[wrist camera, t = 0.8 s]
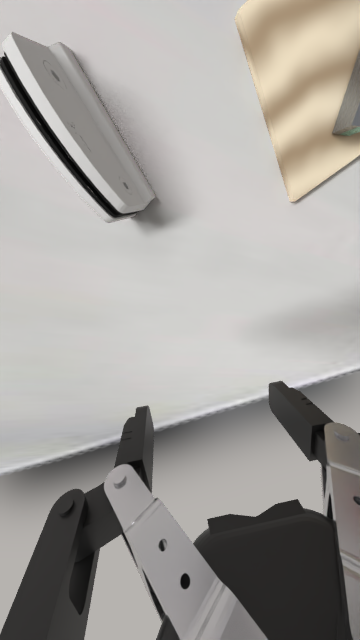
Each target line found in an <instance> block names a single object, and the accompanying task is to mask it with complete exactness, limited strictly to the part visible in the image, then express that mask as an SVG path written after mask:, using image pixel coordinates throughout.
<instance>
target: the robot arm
mask: <svg viewBox="0 0 360 640" xmlns="http://www.w3.org/2000/svg"><path fill="white" fill-rule="evenodd" d="M269 405H270V408H271V411H272V412H273V414H274V415H275V416H276V417H277V419H278V420H279V422H280V423H281V424H282V425H283V427H284V428H285V429H286V431H287V432H288V433H289V435H290V436H291V437H292V439H293V440H294V441H295V443H296V444H297V445H298V447H299V448H300V449H301V451H302V452H303V453H304V454H305V456H306V457H307V459H308V460H309V461H313V460H318V461H319V462H320V463H321V480H322V496H323V514H321V513H318V512H315V511H313V510H309V509H304V508H303V507H302V506H301V504H300V503H299V501H298V499H296V500H292V501H287V502H283V503H278V504H275V505H274V506H272V507H271V508H269V509H268V510H266V511H265V512H263V513H262V514H260V515H259V516H256V517H251V516H242V515H233V514H228V515H224V516H219V517H215V518H210V519H207V520H208V526H209V528H208V529H207V530H205V531H204V532H203V533H202V534H201V535H200V536H199V537H198V538H197V539H196V540H195V542H194V543H192V542H191V541H190V539H189V538H188V537H187V535H186V534H185V532H184V531H183V530H182V528H181V527H180V526H179V524H178V523H177V522H176V520H175V519H174V518H173V516H172V515H171V514H170V512H169V511H168V510H167V508H166V507H165V505H164V504H163V503H162V501H161V500H160V499H158V498H156V499H155V498H154V497H153V495H152V470H153V447H154V427H153V422H152V418H151V413H150V409H149V406H143V407H137V408H136V413H135V417H131V418H129V419H128V420H127V422H126V423H125V425H124V428H123V432H122V436H121V441H120V445H119V449H118V454H117V458H116V462H115V466H114V469H113V470H112V471H111V472H110V473H109V474H108V476H107V478H106V480H105V482H104V483H102V484H101V485H99V486H98V487H96V488H94V489H92V490H90V491H89V492H87V493H85V494H84V493H83V492H82V490H80V489H73V490H70V491H68V492H67V493H65V494H64V495H62V496H61V497H60V498H59V499H58V500H57V501H56V503H55V504H54V506H53V507H52V509H51V511H50V513H49V515H48V518H47V520H46V523H45V525H44V528H43V530H42V533H41V535H40V538H39V540H38V543H37V545H36V547H35V550H34V552H33V555H32V557H31V560H30V562H29V565H28V567H27V570H26V572H25V575H24V577H23V579H22V582H21V585H20V587H19V589H18V592H17V594H16V597H15V599H14V602H13V604H12V607H11V609H10V612H9V614H8V617H7V619H6V622H5V624H4V626H3V629H2V632H1V634H0V640H84V636H85V631H86V625H87V620H88V614H89V608H90V602H91V597H92V591H93V585H94V579H95V573H96V568H97V562H98V557H99V551H100V548H101V547H102V546H104V545H105V544H106V543H108V542H110V541H111V540H113V539H114V538H116V537H118V536H119V535H122V538H123V540H124V542H125V544H126V546H127V548H128V550H129V552H130V555H131V557H132V559H133V561H134V563H135V565H136V567H137V569H138V572H139V574H140V576H141V578H142V580H143V583H144V585H145V588H146V590H147V592H148V594H149V597H150V599H151V601H152V603H153V605H154V607H155V610H156V612H157V614H158V616H159V618H160V620H161V622H162V625H161V628H160V630H159V633H158V636H157V639H156V640H360V433H357V432H356V431H354V430H353V429H352V428H350V427H348V426H346V425H344V424H340V423H335V422H333V421H332V420H331V419H330V418H329V417H328V416H327V415H326V414H324V413H323V412H322V411H321V410H320V409H319V408H318V407H317V406H315V405H314V404H313V403H312V402H311V401H310V400H309V399H307V397H306V396H304V395H303V394H302V393H301V392H300V391H298V390H296V389H294V388H289V387H288V386H287V385H286V384H285V383H283V382H282V381H279V382H273V383H270V384H269Z"/></svg>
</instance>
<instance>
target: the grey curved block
mask: <svg viewBox="0 0 360 640" xmlns="http://www.w3.org/2000/svg"><path fill="white" fill-rule="evenodd" d="M2 46H3V49H4V55H5V57H2V58H1V57H0V87H1V89H2V91H3V93H4V95H5V96H6V98H7V100H8V101H9V103H10V105H11V106H12V108H13V110H14V111H15V113H16V114H17V116H18V117H19V119H20V120H21V122H22V123H23V125H24V126H25V128H26V129H27V131H28V132H29V134H30V135H31V137H32V138H33V139H34V141H35V142H36V143H37V145H38V146H39V148H40V149H41V150H42V152H43V153H44V154H45V156H46V157H47V158H48V160H49V161H50V162H51V163H52V165H53V166H54V167H55V168H56V170H57V171H58V172H59V173H60V175H61V176H62V177H63V178H64V179H65V180H66V181H67V183H68V184H69V185H70V186H71V187H72V188H73V190H74V191H75V192H76V193H77V194H78V195H79V196H80V197H81V198H82V199H83V201H84V202H85V203H86V204H87V205H88V206H89V207H90V208H91V209H92V210H93V211H94V212H95V213H96V214H97V215H98V216H99V217H101V218H102V219H103V220H104V221H105V222H107V223H111V222H115V221H119V220H123V219H127V218H131V217H133V216H136V215H137V214H136V212H137V211H140V210H144V209H145V207H146V206H147V205H148V204H149V203H150V201H151V200H153V199H154V198H155V197H156V195H155V194H154V192H153V190H152V188H151V187H150V185H149V183H148V182H147V180H146V178H145V177H144V175H143V173H142V171H141V170H140V168H139V166H138V165H137V163H136V161H135V159H134V158H133V156H132V154H131V153H130V151H129V149H128V147H127V146H126V144H125V142H124V141H123V139H122V137H121V135H120V134H119V132H118V130H117V129H116V127H115V125H114V123H113V122H112V120H111V118H110V117H109V115H108V113H107V111H106V110H105V108H104V106H103V105H102V103H101V101H100V99H99V98H98V96H97V94H96V93H95V91H94V89H93V87H92V86H91V84H90V82H89V81H88V79H87V77H86V75H85V74H84V72H83V70H82V69H81V67H80V65H79V63H78V62H77V60H76V58H75V57H74V55H73V53H72V52H71V50H70V48H68V47H67V46H65V45H64V44H62V43H61V42H58V43H56V44H53V45H51V46H49V47H46V46H44V45H41V44H39V43H37V42H34V41H32V40H30V39H27V38H25V37H23V36H20V35H18V34H16V33H14V32H12V33H11V34H10V35H9V36H8V37H7V38H6V39H5V41H4V42H3V43H2Z"/></svg>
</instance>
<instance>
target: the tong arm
mask: <svg viewBox="0 0 360 640" xmlns="http://www.w3.org/2000/svg"><path fill="white" fill-rule="evenodd" d="M358 132H360V50H359V53H358V56H357V59H356V62H355V65H354V68H353V71H352V74H351V77H350V80H349V83H348V86H347V89H346V92H345V95H344V98H343V101H342V104H341V107H340V110H339V113H338V117H337V120H336V123H335V126H334V129H333V132H332V134H338V135H345V136H350V135H353V134H356V133H358Z"/></svg>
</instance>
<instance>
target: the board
mask: <svg viewBox="0 0 360 640" xmlns="http://www.w3.org/2000/svg"><path fill="white" fill-rule="evenodd" d="M235 22H236V25H237V28H238V32H239V35H240V38H241V41H242V45H243V48H244V51H245V55H246V58H247V61H248V65H249V68H250V71H251V74H252V78H253V81H254V84H255V88H256V91H257V94H258V98H259V101H260V104H261V107H262V111H263V114H264V117H265V121H266V124H267V127H268V130H269V134H270V137H271V140H272V144H273V147H274V150H275V154H276V157H277V160H278V163H279V167H280V170H281V173H282V177H283V180H284V183H285V187H286V190H287V193H288V196H289V200H290V202H295V201H296V200H298V199H299V198H301V197H302V196H303V195H305V194H306V193H308V192H309V191H310V190H312V189H313V188H315V187H316V186H317V185H319V184H320V183H321V182H323V181H324V180H326V179H327V178H328V177H330V176H331V175H333V174H334V173H335V172H337V171H338V170H340V169H341V168H342V167H344V166H345V165H347V164H348V163H349V162H351V161H352V160H354V159H355V158H356V157H358V156H359V155H360V132H358V133H356V134H353V135H350V136H345V135H338V134H332V132H333V129H334V126H335V123H336V120H337V117H338V113H339V110H340V107H341V104H342V101H343V98H344V95H345V92H346V89H347V86H348V83H349V80H350V77H351V74H352V71H353V68H354V65H355V62H356V59H357V56H358V53H359V50H360V0H248V1H247V2H246V3H244V4H243V5H242V6H241V7H240V8H239V10H238V12H237V15H236V17H235Z"/></svg>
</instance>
